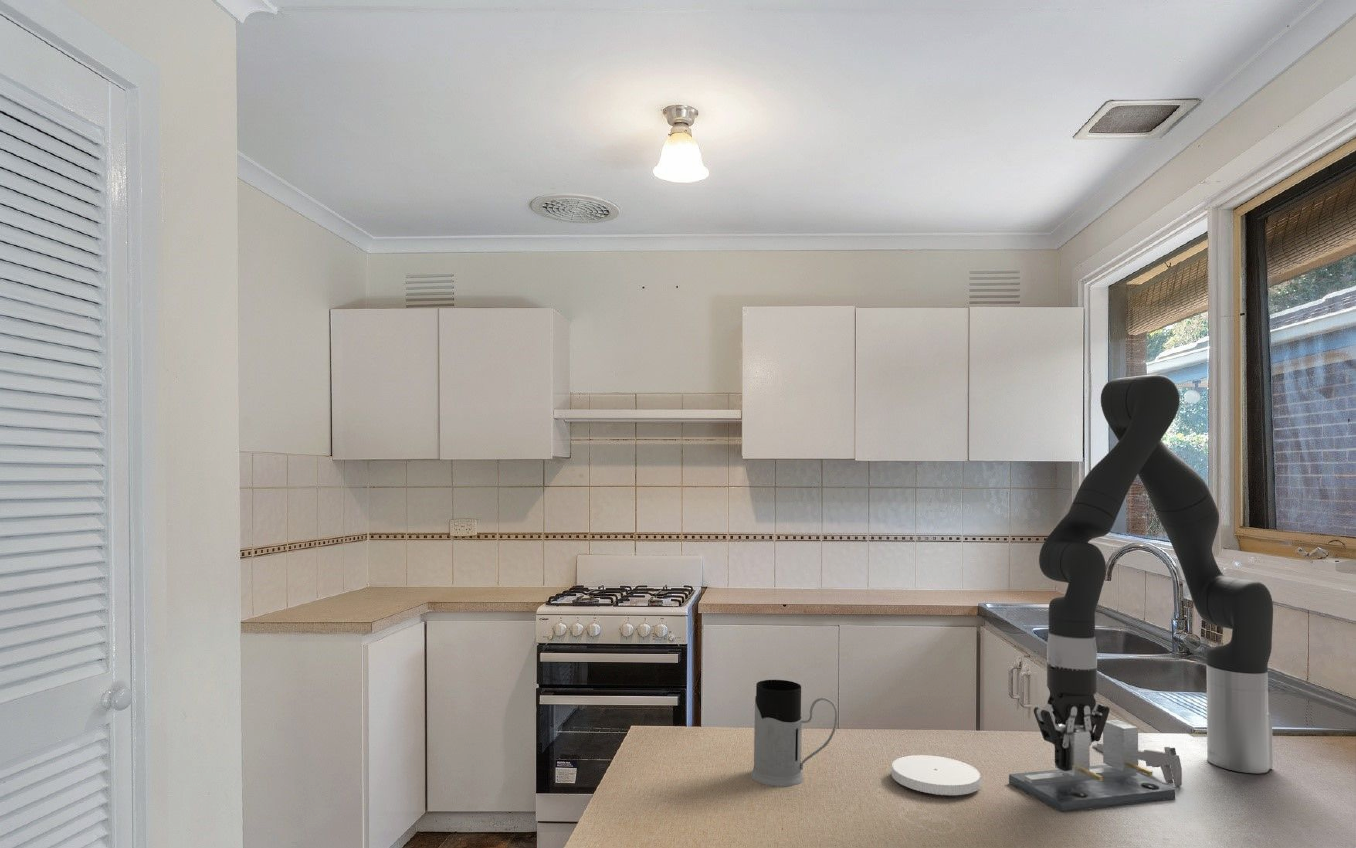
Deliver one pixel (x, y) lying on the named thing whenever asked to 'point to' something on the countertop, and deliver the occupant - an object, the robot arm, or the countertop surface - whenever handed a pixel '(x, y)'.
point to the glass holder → (780, 733)
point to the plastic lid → (936, 775)
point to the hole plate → (1091, 788)
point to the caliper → (1160, 762)
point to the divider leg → (1080, 754)
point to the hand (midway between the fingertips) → (1071, 768)
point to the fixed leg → (1121, 746)
